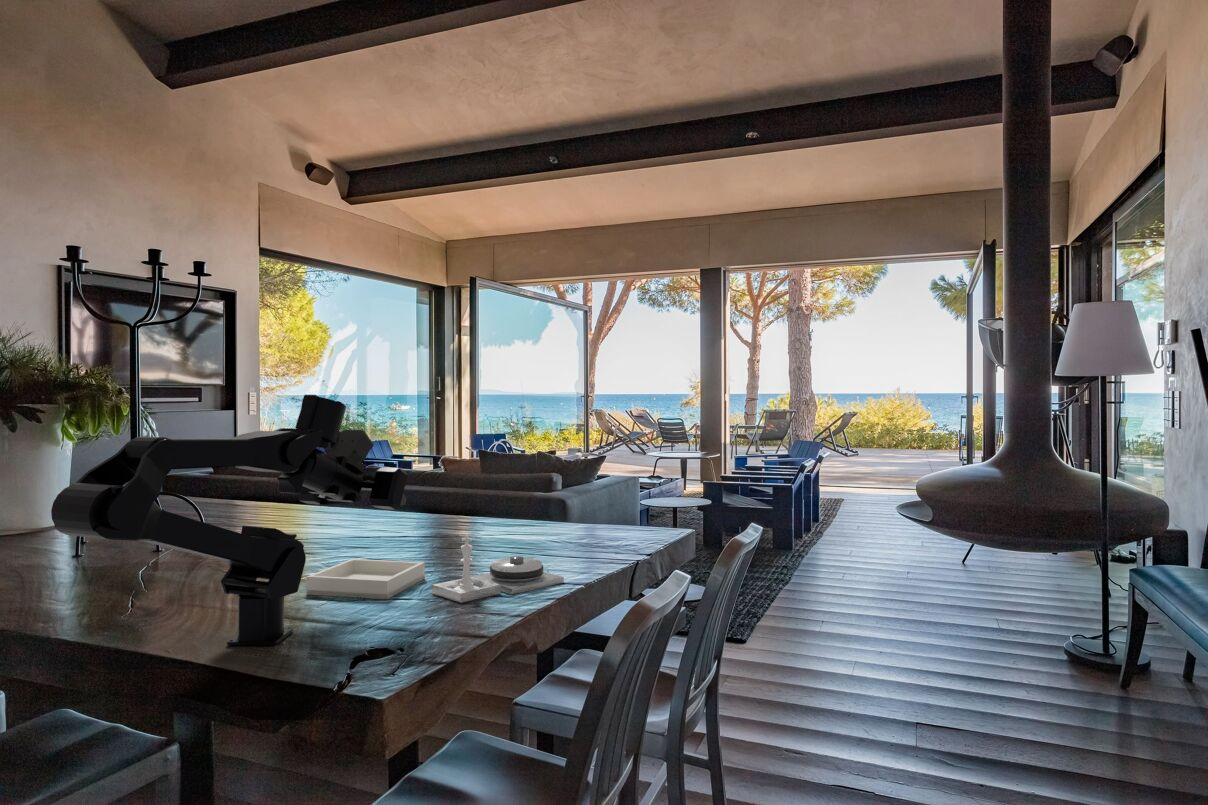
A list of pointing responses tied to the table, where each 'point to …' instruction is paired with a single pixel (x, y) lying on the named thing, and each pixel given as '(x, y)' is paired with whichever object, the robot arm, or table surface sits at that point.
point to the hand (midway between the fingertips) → (382, 500)
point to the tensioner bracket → (501, 580)
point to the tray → (366, 578)
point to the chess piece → (466, 566)
